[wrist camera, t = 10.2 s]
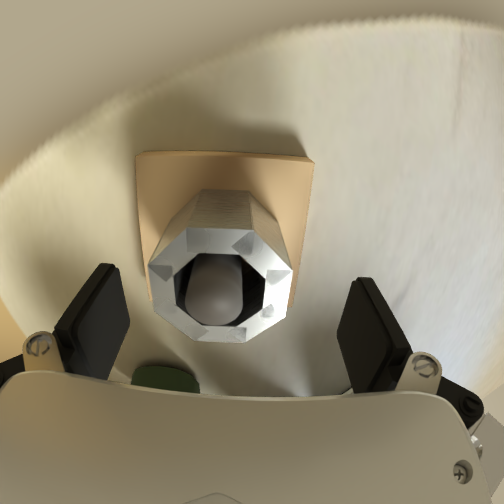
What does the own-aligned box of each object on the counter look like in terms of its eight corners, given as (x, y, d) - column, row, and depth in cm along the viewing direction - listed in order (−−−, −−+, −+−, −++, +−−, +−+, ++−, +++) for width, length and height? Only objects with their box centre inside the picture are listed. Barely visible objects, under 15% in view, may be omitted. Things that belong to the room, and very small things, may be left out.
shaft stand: (308, 157, 15) (353, 197, 9) (288, 293, 20) (307, 375, 13) (143, 151, 15) (84, 188, 9) (155, 287, 19) (126, 367, 13)
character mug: (101, 348, 22) (55, 480, 11) (166, 330, 21) (133, 497, 10) (167, 412, 27) (154, 521, 16) (227, 403, 26) (227, 526, 14)
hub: (281, 191, 15) (299, 231, 10) (271, 284, 17) (280, 343, 13) (170, 187, 14) (142, 225, 10) (175, 280, 17) (158, 338, 13)
